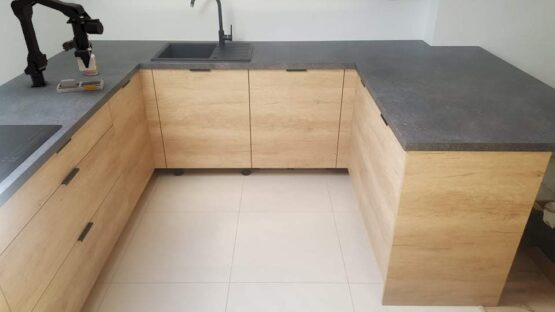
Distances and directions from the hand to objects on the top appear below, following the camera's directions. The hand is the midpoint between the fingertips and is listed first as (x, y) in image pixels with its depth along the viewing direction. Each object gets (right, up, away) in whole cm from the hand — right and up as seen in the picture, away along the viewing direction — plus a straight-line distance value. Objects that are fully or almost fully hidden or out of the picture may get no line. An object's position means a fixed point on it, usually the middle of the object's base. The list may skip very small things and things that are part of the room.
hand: (87, 67), depth 193 cm
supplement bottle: (-9, +1, +23) cm, 25 cm away
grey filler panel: (-9, -10, +2) cm, 14 cm away
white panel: (0, -1, +1) cm, 1 cm away
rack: (-5, -9, +3) cm, 11 cm away
